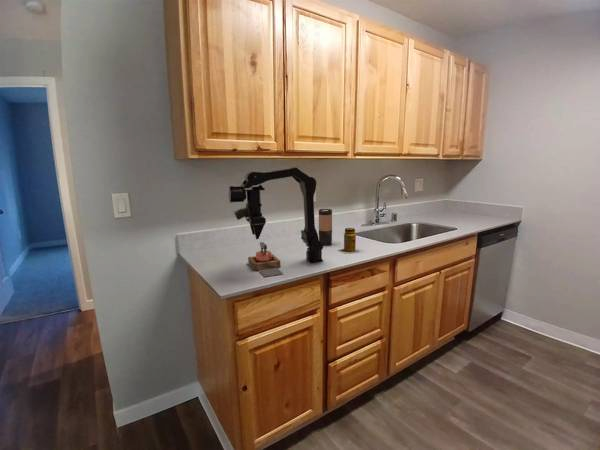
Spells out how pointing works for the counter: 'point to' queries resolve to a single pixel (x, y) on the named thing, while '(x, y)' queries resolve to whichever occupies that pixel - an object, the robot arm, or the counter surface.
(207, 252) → the counter surface
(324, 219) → the travel mug
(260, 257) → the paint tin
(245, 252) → the counter surface
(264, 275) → the mat
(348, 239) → the condiment
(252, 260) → the holder
